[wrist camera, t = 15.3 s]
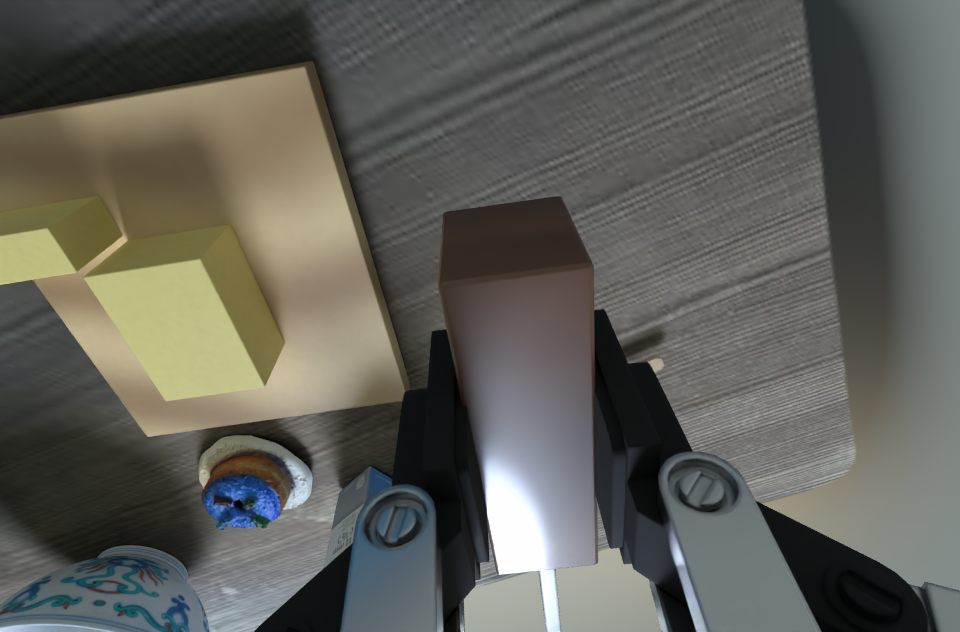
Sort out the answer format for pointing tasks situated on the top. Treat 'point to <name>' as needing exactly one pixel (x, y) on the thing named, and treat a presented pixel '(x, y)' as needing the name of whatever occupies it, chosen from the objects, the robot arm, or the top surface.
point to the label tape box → (354, 510)
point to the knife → (526, 380)
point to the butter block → (190, 312)
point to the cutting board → (214, 202)
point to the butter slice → (53, 238)
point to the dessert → (251, 481)
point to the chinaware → (109, 596)
